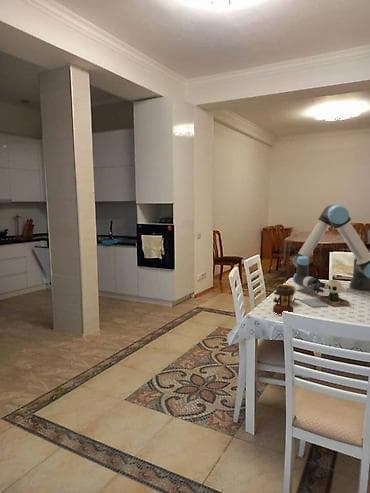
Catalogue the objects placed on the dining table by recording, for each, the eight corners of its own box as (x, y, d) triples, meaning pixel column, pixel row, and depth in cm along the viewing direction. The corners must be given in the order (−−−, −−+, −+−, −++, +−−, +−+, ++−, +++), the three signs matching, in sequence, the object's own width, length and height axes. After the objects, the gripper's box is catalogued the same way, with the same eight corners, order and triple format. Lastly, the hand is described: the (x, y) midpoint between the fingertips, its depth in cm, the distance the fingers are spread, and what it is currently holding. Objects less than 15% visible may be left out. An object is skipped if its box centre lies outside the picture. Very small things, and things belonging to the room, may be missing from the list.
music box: (266, 313, 188) (269, 276, 186) (274, 309, 197) (276, 274, 196) (295, 318, 179) (298, 279, 178) (301, 314, 188) (304, 277, 187)
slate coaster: (314, 299, 213) (314, 298, 213) (328, 306, 200) (328, 305, 200) (299, 300, 211) (299, 299, 211) (312, 307, 198) (312, 306, 198)
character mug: (321, 301, 210) (322, 280, 208) (327, 299, 214) (328, 278, 213) (339, 305, 202) (341, 283, 200) (344, 303, 207) (346, 281, 205)
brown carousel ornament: (295, 305, 202) (296, 289, 200) (277, 304, 204) (278, 288, 202) (293, 300, 212) (294, 284, 210) (276, 299, 214) (277, 283, 212)
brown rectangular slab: (333, 298, 216) (333, 295, 216) (349, 305, 202) (349, 301, 202) (318, 299, 214) (318, 295, 214) (332, 306, 200) (332, 302, 200)
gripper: (327, 287, 229) (352, 295, 210) (295, 290, 220) (319, 299, 201) (327, 276, 228) (353, 283, 209) (296, 279, 219) (320, 286, 200)
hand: (337, 291), depth 205 cm, fingers open, 13 cm apart
